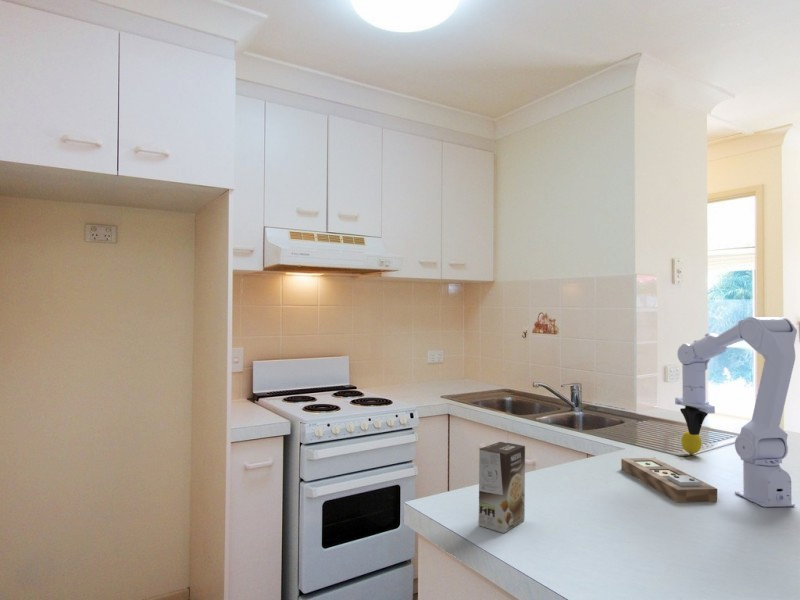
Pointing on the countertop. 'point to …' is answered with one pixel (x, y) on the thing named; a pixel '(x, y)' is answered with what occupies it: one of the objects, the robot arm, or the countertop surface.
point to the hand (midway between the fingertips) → (694, 434)
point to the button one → (647, 463)
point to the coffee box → (501, 486)
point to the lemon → (691, 443)
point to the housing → (668, 481)
